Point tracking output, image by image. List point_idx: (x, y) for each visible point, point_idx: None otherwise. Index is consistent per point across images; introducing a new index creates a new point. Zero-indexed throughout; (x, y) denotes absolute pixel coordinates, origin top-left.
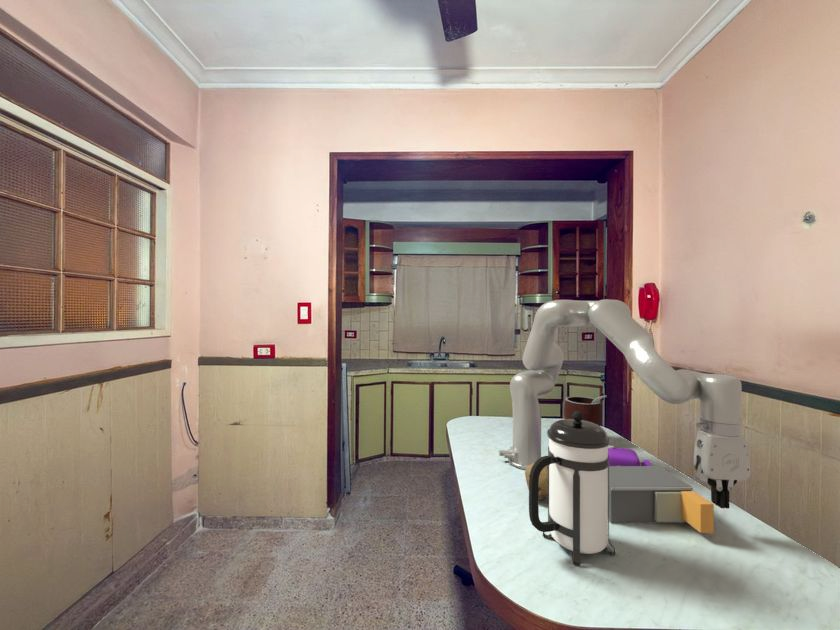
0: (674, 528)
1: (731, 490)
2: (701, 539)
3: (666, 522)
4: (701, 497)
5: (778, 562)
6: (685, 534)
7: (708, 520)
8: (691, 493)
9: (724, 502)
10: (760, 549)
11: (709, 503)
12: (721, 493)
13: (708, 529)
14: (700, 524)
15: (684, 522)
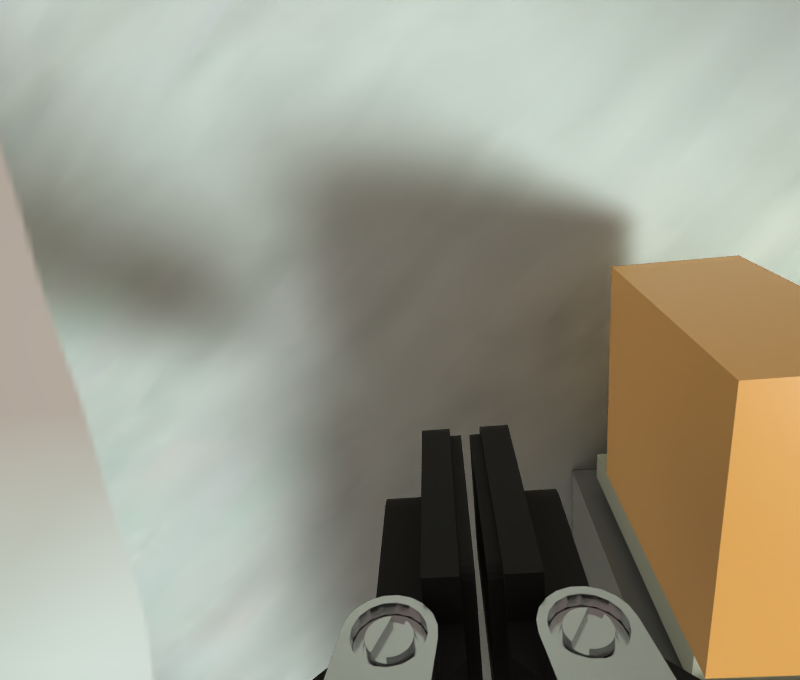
0: None
1: (365, 607)
2: None
3: None
4: (750, 543)
5: (267, 3)
6: None
7: (709, 298)
8: (792, 628)
9: (492, 462)
10: (288, 175)
11: (783, 398)
12: (540, 559)
13: (672, 271)
14: (779, 278)
15: None
